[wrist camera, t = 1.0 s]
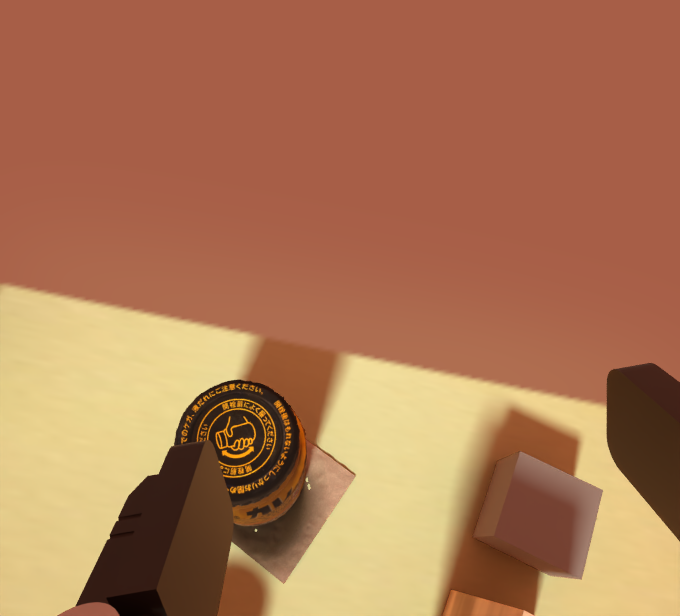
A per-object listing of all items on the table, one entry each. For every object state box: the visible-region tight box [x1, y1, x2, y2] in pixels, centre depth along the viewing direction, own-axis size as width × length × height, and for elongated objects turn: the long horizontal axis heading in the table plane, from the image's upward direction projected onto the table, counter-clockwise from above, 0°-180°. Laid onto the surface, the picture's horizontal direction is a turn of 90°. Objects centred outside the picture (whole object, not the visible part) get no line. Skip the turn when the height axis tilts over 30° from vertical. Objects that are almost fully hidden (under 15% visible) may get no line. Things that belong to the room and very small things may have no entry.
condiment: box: [174, 380, 355, 584], centre depth 27 cm, size 7×8×12 cm
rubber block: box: [473, 451, 603, 579], centre depth 31 cm, size 5×5×4 cm
